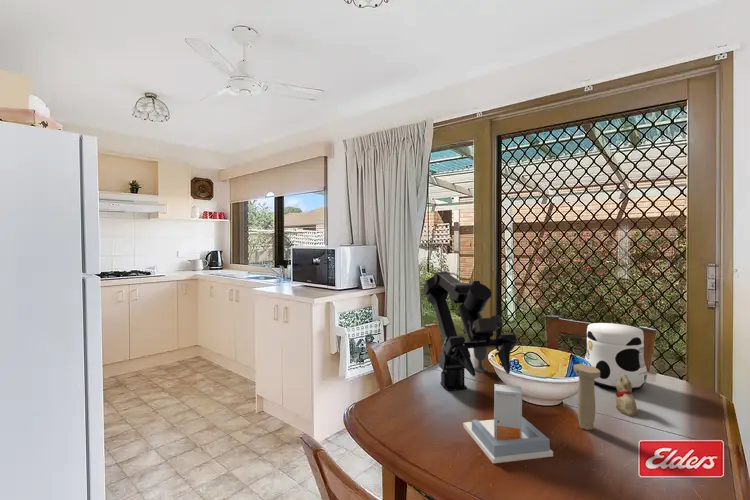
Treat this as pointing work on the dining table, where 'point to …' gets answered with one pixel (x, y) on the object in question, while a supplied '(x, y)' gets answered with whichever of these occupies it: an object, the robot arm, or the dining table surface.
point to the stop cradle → (509, 442)
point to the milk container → (616, 353)
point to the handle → (586, 394)
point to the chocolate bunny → (625, 397)
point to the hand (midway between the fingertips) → (491, 374)
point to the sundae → (480, 358)
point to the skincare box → (507, 412)
